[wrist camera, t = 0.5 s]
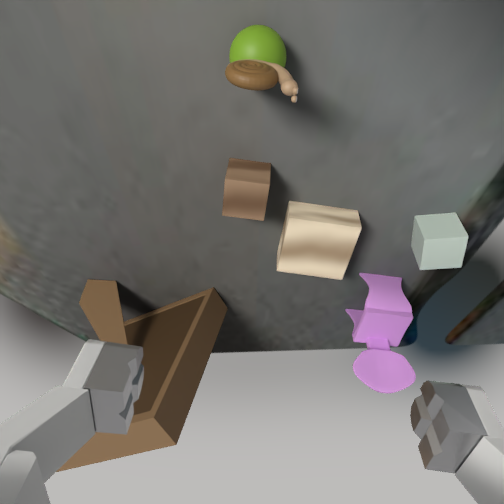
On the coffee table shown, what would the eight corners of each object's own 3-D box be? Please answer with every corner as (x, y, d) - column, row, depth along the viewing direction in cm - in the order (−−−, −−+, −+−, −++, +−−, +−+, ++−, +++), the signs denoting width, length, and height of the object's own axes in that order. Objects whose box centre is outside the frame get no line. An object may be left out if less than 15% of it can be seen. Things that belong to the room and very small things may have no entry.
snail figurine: (292, 80, 44) (293, 129, 35) (231, 74, 44) (216, 121, 35) (300, 23, 40) (304, 60, 31) (233, 16, 40) (218, 51, 31)
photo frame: (228, 303, 67) (205, 465, 48) (126, 340, 75) (72, 492, 56) (172, 239, 59) (118, 403, 40) (64, 289, 67) (-23, 444, 48)
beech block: (289, 199, 54) (289, 217, 51) (357, 209, 54) (361, 228, 51) (277, 251, 60) (276, 270, 56) (339, 260, 60) (341, 279, 57)
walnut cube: (229, 157, 50) (225, 178, 46) (270, 163, 50) (269, 184, 46) (226, 192, 53) (222, 215, 49) (265, 197, 53) (263, 220, 50)
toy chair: (409, 276, 61) (438, 364, 49) (390, 315, 66) (412, 402, 55) (353, 269, 60) (369, 356, 49) (338, 309, 66) (350, 395, 55)
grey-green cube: (414, 215, 54) (424, 239, 50) (455, 212, 53) (468, 236, 49) (410, 245, 57) (419, 270, 53) (449, 242, 56) (461, 267, 52)
